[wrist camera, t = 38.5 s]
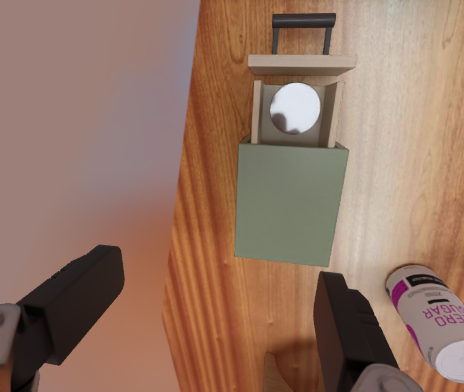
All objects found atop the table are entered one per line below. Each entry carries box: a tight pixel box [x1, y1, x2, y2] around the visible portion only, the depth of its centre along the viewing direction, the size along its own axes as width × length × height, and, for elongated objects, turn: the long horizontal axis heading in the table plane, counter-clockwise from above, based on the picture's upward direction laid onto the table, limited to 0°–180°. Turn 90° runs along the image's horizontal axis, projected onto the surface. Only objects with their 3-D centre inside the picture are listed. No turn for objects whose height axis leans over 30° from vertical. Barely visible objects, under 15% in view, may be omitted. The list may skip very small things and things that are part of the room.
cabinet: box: [234, 134, 349, 267], centre depth 39 cm, size 16×13×11 cm
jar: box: [270, 82, 321, 135], centre depth 34 cm, size 6×6×9 cm
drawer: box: [248, 13, 357, 148], centre depth 34 cm, size 19×12×9 cm, turn 178°
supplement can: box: [386, 265, 464, 383], centre depth 39 cm, size 8×8×15 cm
